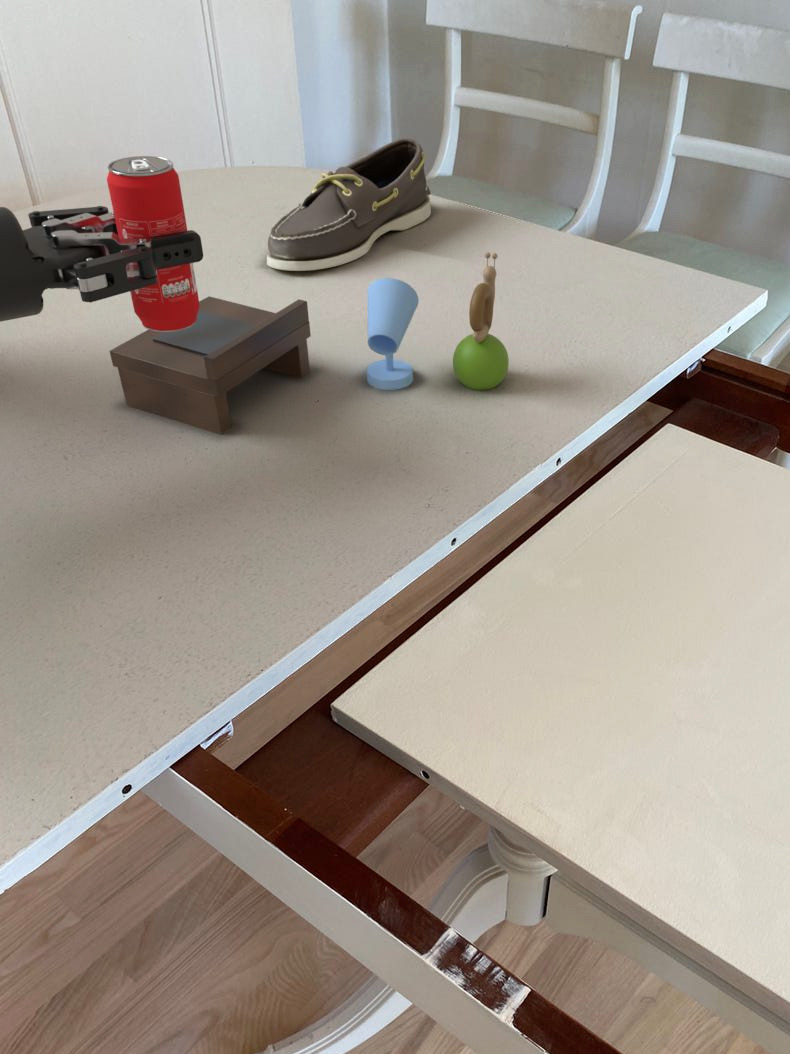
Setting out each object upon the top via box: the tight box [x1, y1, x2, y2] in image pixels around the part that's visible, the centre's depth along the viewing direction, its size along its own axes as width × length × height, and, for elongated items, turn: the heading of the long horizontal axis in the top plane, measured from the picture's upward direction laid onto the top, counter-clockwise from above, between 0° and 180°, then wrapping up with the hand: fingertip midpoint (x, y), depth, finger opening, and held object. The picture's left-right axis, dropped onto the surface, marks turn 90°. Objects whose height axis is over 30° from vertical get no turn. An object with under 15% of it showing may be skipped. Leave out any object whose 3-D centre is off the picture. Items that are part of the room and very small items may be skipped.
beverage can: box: [106, 155, 200, 332], centre depth 76 cm, size 5×5×12 cm
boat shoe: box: [266, 137, 432, 272], centre depth 122 cm, size 11×31×9 cm, turn 149°
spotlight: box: [366, 277, 419, 391], centre depth 93 cm, size 5×10×7 cm
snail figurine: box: [452, 251, 510, 391], centre depth 92 cm, size 5×6×12 cm
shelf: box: [109, 296, 311, 436], centre depth 91 cm, size 12×14×8 cm
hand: (186, 234), depth 77 cm, fingers closed on beverage can, 5 cm apart
